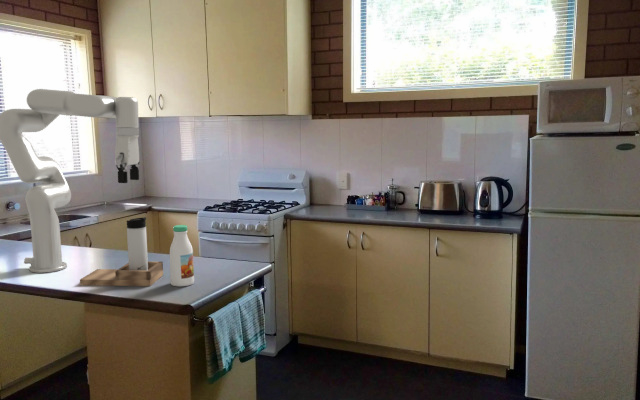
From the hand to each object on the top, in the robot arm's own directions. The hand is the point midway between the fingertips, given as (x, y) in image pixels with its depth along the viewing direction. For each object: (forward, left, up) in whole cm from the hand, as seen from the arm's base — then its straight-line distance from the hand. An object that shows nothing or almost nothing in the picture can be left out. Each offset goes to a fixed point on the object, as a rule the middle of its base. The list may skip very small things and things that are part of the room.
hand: (128, 181), depth 194 cm
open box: (0, -9, -34) cm, 35 cm away
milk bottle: (+22, -12, -34) cm, 42 cm away
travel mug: (+6, -9, -32) cm, 33 cm away
